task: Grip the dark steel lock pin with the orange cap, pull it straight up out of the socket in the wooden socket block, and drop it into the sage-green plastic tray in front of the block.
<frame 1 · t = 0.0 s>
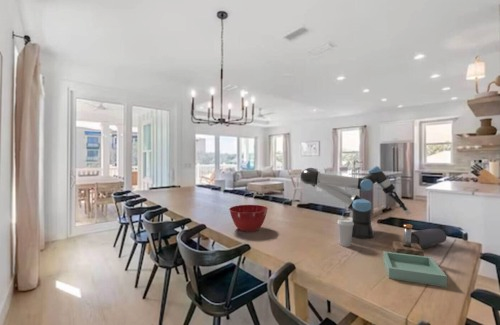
hand: (407, 212, 173), 15 cm above the table, tool tilted 35°, fingers open, 13 cm apart
bluetooth speaker: (426, 246, 151), on the table
lock pin: (407, 253, 134), point 2 cm above the table, touching wooden socket block
mixing bowl: (248, 229, 186), on the table
coffee cup: (345, 245, 153), on the table
wooden socket block: (407, 257, 134), on the table
parts tray: (411, 271, 117), on the table
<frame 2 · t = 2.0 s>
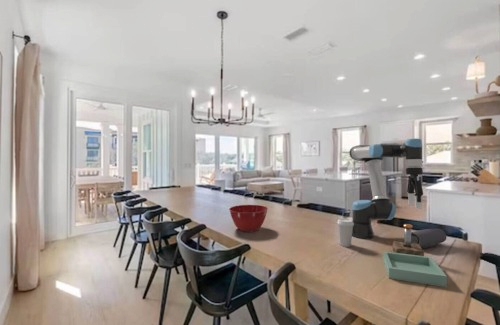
hand: (414, 206, 136), 26 cm above the table, tool pointing down, fingers open, 13 cm apart
nothing on the table moved.
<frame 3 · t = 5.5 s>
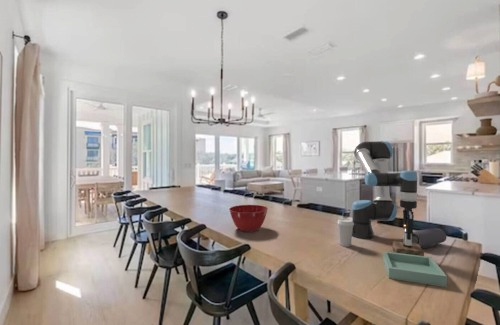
hand: (407, 244, 134), 7 cm above the table, tool pointing down, fingers closed on lock pin, 3 cm apart
lock pin: (407, 253, 134), point 2 cm above the table, touching gripper, wooden socket block
everything else where it was.
when the fingers open (8 cm above the table, at t = 13.5 s): lock pin drops 2 cm, resting on parts tray.
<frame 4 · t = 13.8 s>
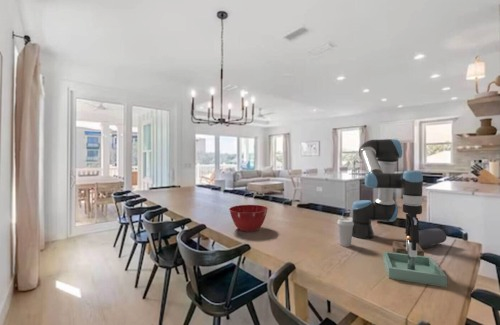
hand: (411, 253, 117), 9 cm above the table, tool pointing down, fingers open, 7 cm apart
lock pin: (411, 269, 117), point 1 cm above the table, touching parts tray
everything else where it was.
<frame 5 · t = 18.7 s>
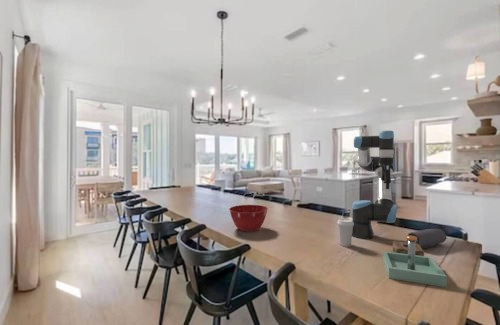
hand: (385, 193, 150), 32 cm above the table, tool pointing down, fingers open, 13 cm apart
nothing on the table moved.
at the end: lock pin inside the target area on the parts tray (0.1 cm from its centre), point 1.2 cm above the parts tray's base; lock pin touching parts tray; the gripper is holding nothing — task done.
